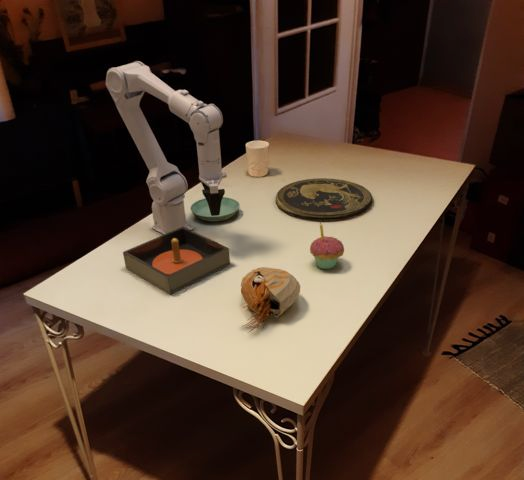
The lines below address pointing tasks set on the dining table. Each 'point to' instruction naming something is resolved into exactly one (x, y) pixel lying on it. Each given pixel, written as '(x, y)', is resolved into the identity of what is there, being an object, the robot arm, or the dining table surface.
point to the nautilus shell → (269, 292)
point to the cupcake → (326, 250)
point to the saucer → (226, 210)
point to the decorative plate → (324, 199)
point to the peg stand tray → (212, 261)
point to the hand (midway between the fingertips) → (213, 209)
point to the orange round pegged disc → (175, 259)
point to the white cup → (257, 158)
